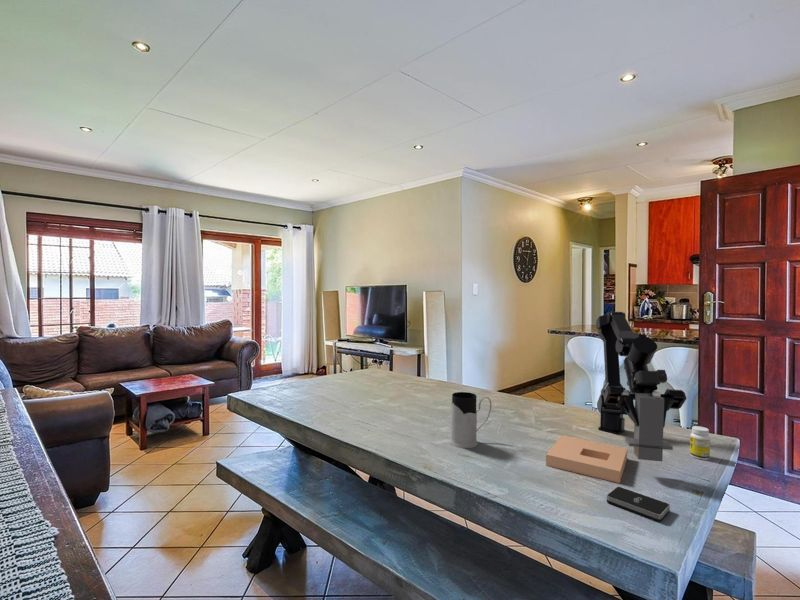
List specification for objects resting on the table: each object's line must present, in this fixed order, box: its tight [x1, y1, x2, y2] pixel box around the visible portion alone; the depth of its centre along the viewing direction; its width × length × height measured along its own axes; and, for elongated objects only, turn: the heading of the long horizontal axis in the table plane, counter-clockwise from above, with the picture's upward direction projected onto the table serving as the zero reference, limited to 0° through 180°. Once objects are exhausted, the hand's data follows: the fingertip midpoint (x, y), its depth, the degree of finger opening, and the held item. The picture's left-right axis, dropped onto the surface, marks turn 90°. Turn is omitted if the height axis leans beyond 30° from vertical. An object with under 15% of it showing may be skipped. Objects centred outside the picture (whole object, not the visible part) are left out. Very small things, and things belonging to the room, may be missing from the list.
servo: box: [624, 390, 674, 462], centre depth 108 cm, size 10×4×17 cm, turn 77°
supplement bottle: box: [689, 425, 711, 461], centre depth 121 cm, size 5×5×8 cm
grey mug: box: [449, 391, 492, 449], centre depth 131 cm, size 9×14×15 cm, turn 111°
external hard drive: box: [606, 486, 671, 523], centre depth 93 cm, size 7×11×2 cm, turn 42°
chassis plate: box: [545, 434, 628, 484], centre depth 116 cm, size 18×18×3 cm
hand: (650, 426), depth 107 cm, fingers closed on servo, 5 cm apart
